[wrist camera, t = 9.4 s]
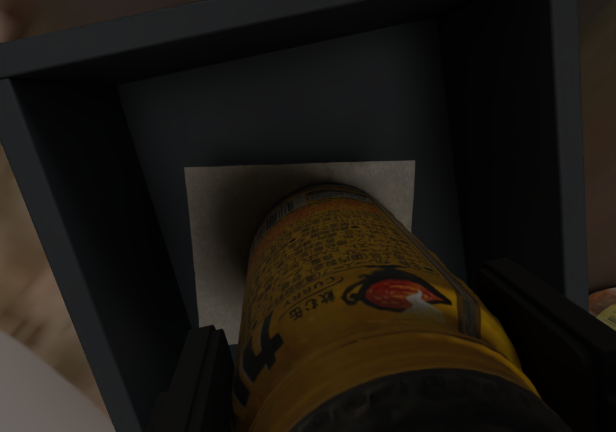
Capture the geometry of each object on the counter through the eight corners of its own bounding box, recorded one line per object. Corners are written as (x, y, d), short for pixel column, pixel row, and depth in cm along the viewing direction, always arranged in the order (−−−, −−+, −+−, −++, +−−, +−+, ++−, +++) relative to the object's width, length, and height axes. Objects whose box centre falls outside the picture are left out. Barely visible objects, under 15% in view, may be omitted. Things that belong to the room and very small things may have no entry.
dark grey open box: (97, 71, 19) (-38, 50, 11) (444, -3, 20) (577, -79, 11) (205, 404, 24) (170, 572, 16) (482, 339, 24) (596, 468, 16)
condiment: (405, 331, 19) (627, 715, 7) (201, 343, 18) (79, 788, 6) (413, 159, 17) (735, 299, 5) (185, 165, 16) (-29, 343, 5)
